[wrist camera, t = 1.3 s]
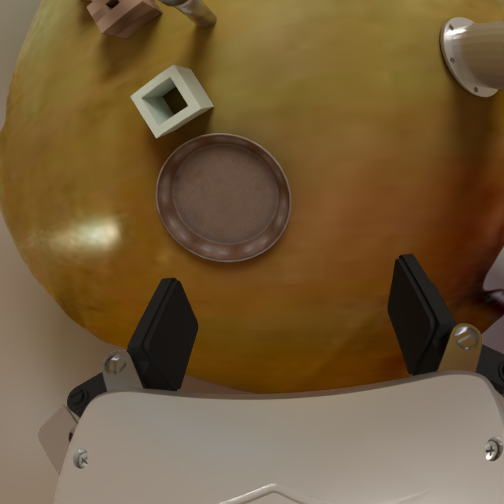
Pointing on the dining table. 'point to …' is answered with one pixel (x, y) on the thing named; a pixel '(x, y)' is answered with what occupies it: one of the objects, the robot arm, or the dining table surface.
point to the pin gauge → (194, 11)
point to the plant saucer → (223, 197)
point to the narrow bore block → (122, 15)
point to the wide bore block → (157, 108)
